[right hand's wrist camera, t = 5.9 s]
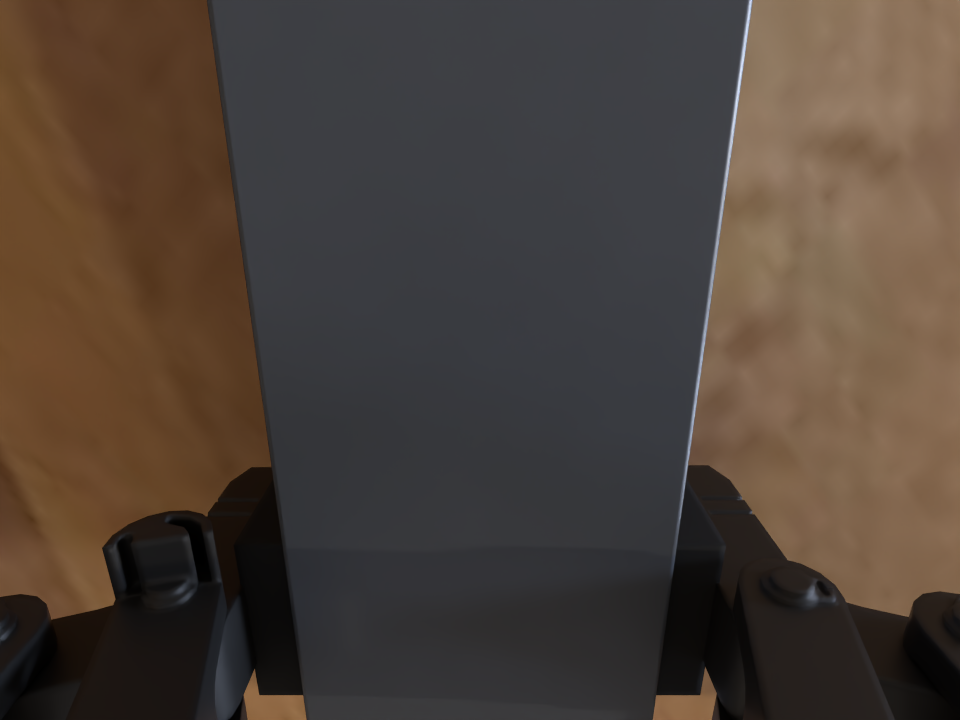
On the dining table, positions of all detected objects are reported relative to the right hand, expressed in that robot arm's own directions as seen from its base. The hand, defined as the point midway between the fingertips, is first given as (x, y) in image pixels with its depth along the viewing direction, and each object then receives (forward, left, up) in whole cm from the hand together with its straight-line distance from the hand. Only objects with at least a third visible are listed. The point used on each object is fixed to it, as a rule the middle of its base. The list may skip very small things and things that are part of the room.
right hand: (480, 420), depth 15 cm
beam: (+2, -19, 0) cm, 20 cm away
